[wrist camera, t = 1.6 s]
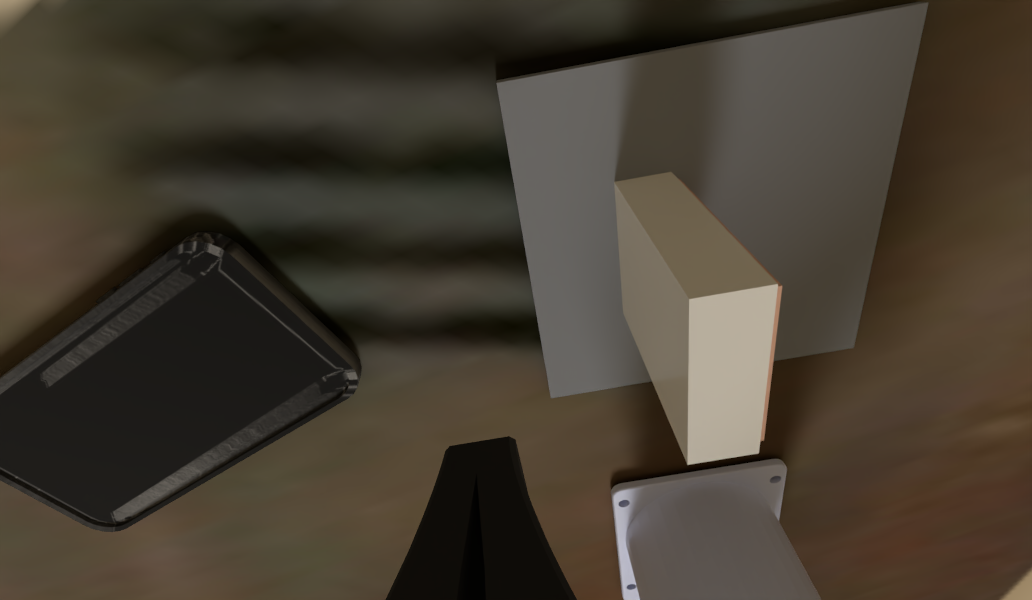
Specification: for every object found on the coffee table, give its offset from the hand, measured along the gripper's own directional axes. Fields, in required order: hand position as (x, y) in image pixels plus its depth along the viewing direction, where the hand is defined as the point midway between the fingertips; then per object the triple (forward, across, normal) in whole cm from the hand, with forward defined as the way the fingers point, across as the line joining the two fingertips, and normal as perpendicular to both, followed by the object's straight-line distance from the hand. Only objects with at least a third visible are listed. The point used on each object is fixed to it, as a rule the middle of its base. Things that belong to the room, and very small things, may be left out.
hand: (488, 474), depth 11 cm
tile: (+8, -6, 0) cm, 10 cm away
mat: (+9, -8, 0) cm, 12 cm away
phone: (+10, +14, +3) cm, 17 cm away
